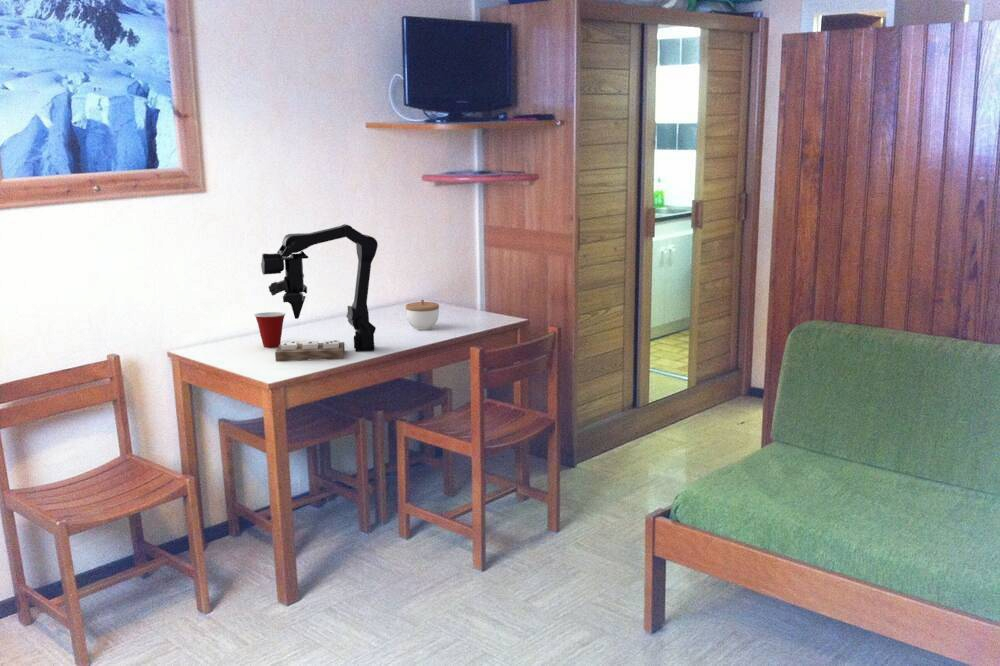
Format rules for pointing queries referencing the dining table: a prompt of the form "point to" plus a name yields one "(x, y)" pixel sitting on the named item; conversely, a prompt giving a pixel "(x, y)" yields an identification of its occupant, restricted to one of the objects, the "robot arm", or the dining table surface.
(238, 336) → the dining table surface
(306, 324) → the dining table surface
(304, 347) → the one dot key
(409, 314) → the lidded bowl
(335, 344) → the three dot key
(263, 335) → the plastic cup
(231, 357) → the dining table surface
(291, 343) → the two dot key
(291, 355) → the key panel
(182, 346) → the dining table surface
